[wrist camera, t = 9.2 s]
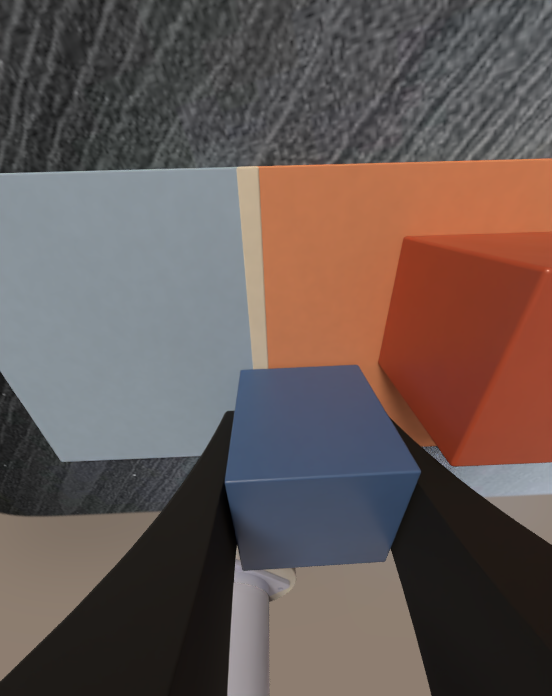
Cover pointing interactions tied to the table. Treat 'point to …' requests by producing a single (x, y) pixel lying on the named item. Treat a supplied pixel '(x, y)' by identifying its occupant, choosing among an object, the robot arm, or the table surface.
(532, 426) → the terracotta block
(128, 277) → the mat
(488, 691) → the robot arm
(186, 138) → the table surface
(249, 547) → the slate blue block
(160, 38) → the table surface
